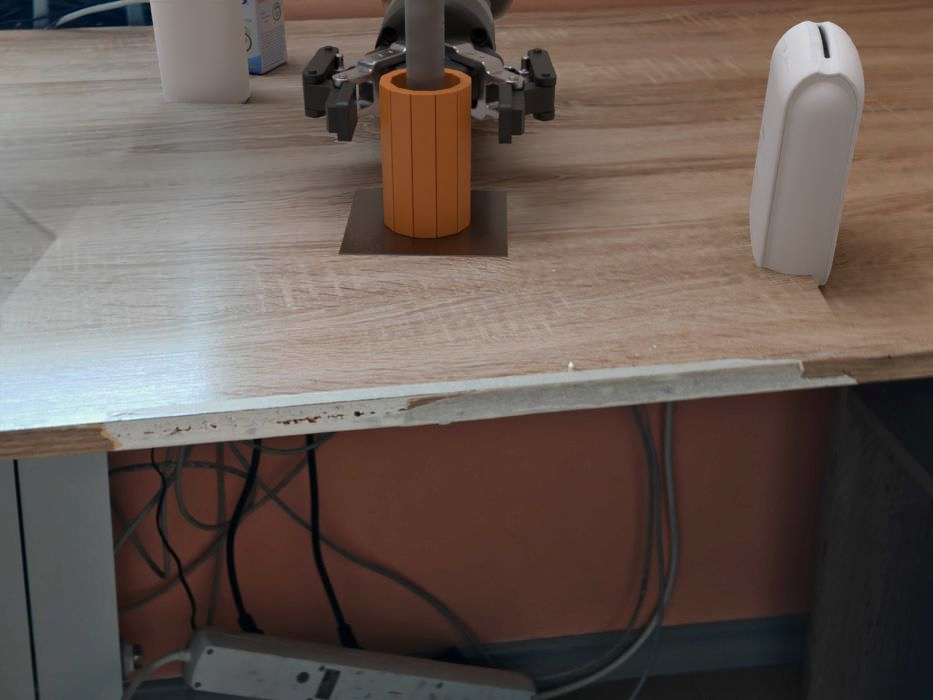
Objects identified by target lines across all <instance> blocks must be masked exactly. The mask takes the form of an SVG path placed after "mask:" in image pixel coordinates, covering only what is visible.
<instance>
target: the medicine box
mask: <svg viewBox="0 0 933 700" xmlns="http://www.w3.org/2000/svg"><path fill="white" fill-rule="evenodd" d="M284 6H285V5H284V0H242V10H243V20H244V30H245V40H246V50H247V61H248V71H249V74H250V73H252V74H258V75H263V74H265V73H267V72H270V71H271V70H273V69H275V68H277V67H279V66H281V65H282V64H284V63H286V62H287V61H288V50H287V49H288V48H287V47H288V46H287V34H286V33H287V32H286V21H285V7H284Z"/></svg>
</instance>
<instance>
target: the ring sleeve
mask: <svg viewBox="0 0 933 700" xmlns="http://www.w3.org/2000/svg"><path fill="white" fill-rule="evenodd" d="M379 96H380V119H379V120H380V122H379V123H380V145H381V146H380V147H381V149H380V150H381V151H380V152H381V170H382V171H381V174H382V175H381V176H382V189H383V205H384V223H385V225H386V226H387V227H389V228H390V229H391V230H392V231H393V232H395V233H398V234H402V235H406V236H409V237H415V238H436V237H438V238H439V237H443V236H448V235H452V234H456V233H459V232H460V231H462V230H463V229H465V228H466V227H468V226H469V224H470V199H471V190H472V189H471V186H472V184H471V183H472V182H471V181H472V180H471V177H472V116H471V77H470V76H468V75H466V74H464V73H463V72H461V71H457V70H452V69H446V68H445V89H443V90H437V91H412V90H407V79H406V69H399V70H396V71H395V70H394V71H392V72H390V73H387V74H385V75H383V76H382V77H381V79H380V82H379Z"/></svg>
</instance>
